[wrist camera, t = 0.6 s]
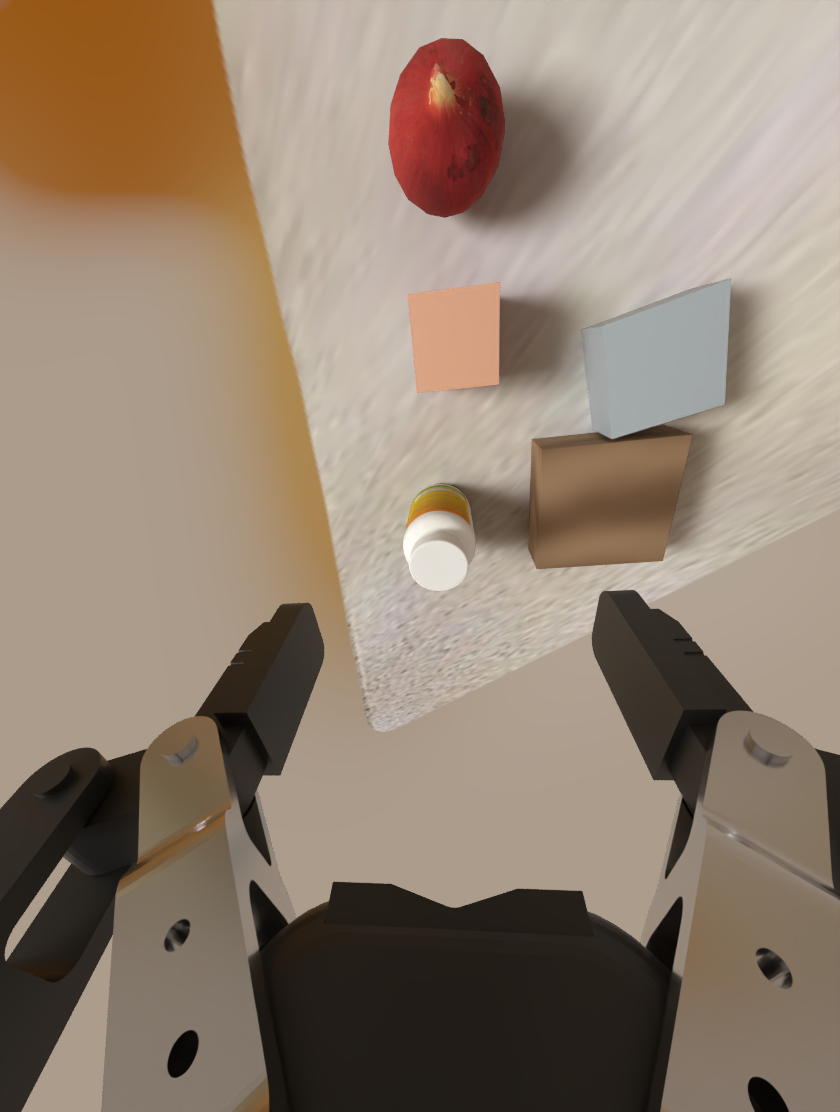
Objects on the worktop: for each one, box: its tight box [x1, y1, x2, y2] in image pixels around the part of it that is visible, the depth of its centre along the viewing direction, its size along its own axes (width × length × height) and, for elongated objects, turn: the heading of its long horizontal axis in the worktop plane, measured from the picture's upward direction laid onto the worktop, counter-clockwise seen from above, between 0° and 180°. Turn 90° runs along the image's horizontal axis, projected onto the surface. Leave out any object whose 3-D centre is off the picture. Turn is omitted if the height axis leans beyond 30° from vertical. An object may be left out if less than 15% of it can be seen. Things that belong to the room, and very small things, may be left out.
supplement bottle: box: [403, 484, 476, 591], centre depth 28 cm, size 5×5×10 cm
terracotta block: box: [408, 282, 500, 393], centre depth 23 cm, size 5×5×6 cm
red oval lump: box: [389, 38, 505, 218], centre depth 18 cm, size 6×6×8 cm
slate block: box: [581, 278, 731, 439], centre depth 24 cm, size 7×7×4 cm
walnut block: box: [528, 425, 693, 569], centre depth 29 cm, size 10×10×4 cm
